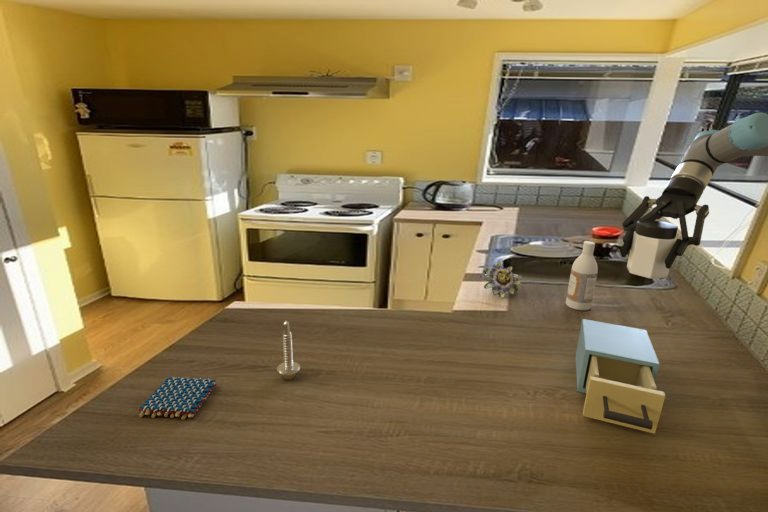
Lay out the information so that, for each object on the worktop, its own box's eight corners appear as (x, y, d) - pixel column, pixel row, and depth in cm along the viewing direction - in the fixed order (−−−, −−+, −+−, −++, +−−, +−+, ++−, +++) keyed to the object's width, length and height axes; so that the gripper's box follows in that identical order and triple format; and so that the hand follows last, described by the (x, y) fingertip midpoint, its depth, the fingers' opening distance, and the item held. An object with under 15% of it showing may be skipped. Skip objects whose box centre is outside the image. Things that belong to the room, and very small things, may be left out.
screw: (296, 367, 93) (304, 379, 89) (274, 374, 90) (281, 386, 86) (293, 313, 88) (302, 323, 85) (270, 318, 86) (278, 328, 82)
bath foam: (561, 301, 130) (572, 238, 124) (583, 301, 131) (595, 239, 124) (571, 311, 124) (583, 245, 118) (595, 311, 124) (607, 246, 118)
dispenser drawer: (661, 456, 69) (673, 416, 67) (584, 436, 73) (592, 397, 71) (642, 390, 86) (651, 356, 84) (580, 376, 90) (586, 344, 88)
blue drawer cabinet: (648, 407, 83) (659, 364, 79) (577, 391, 87) (585, 349, 84) (636, 368, 96) (646, 329, 93) (575, 356, 100) (582, 318, 97)
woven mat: (167, 383, 86) (166, 374, 85) (218, 386, 86) (217, 377, 85) (136, 417, 76) (134, 408, 76) (194, 421, 76) (192, 411, 75)
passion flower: (499, 313, 134) (485, 288, 127) (485, 293, 143) (471, 270, 137) (530, 294, 133) (518, 268, 126) (513, 276, 142) (501, 251, 136)
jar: (650, 266, 106) (660, 219, 102) (676, 278, 98) (688, 227, 95) (617, 267, 105) (627, 220, 101) (641, 279, 97) (653, 228, 93)
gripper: (741, 202, 97) (699, 281, 93) (641, 189, 113) (601, 256, 109) (741, 181, 92) (697, 263, 88) (636, 170, 109) (594, 239, 104)
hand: (643, 259), depth 98 cm, fingers closed on jar, 9 cm apart
